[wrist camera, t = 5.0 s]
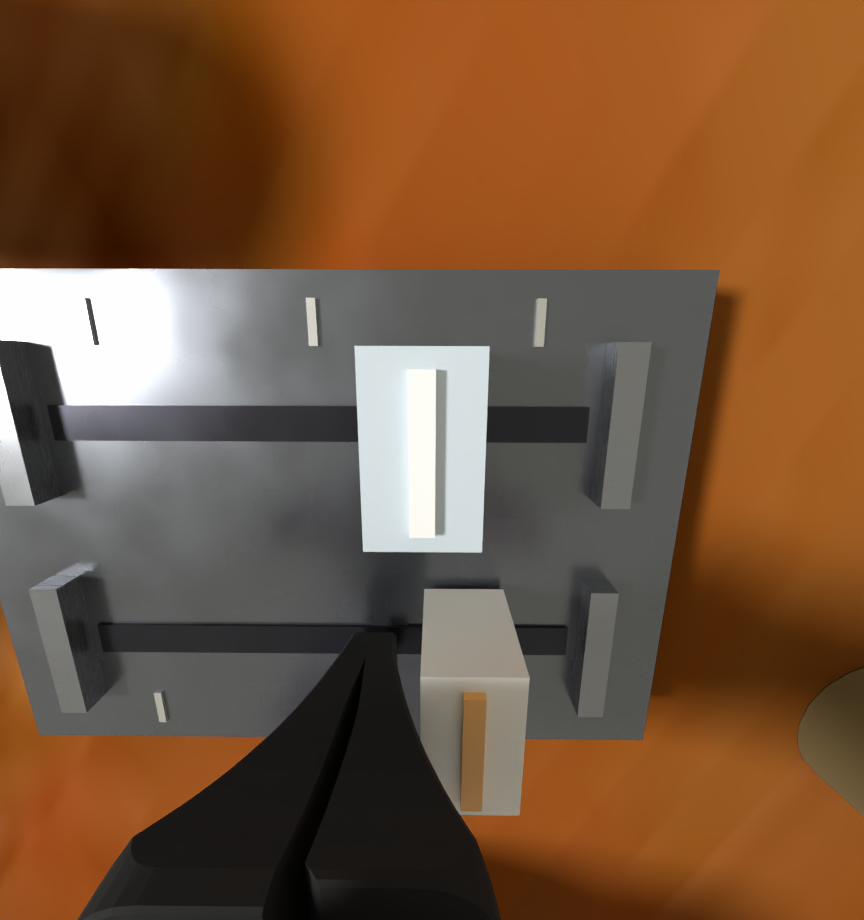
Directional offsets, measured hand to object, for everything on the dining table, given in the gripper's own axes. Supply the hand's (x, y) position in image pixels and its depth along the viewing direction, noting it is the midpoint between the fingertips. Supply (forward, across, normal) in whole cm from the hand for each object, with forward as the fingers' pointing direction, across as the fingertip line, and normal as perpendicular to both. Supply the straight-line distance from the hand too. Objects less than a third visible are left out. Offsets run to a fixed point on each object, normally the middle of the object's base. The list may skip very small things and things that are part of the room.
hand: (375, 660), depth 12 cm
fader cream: (+1, -3, 0) cm, 3 cm away
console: (+3, +2, -4) cm, 5 cm away
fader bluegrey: (+1, -1, -7) cm, 7 cm away
